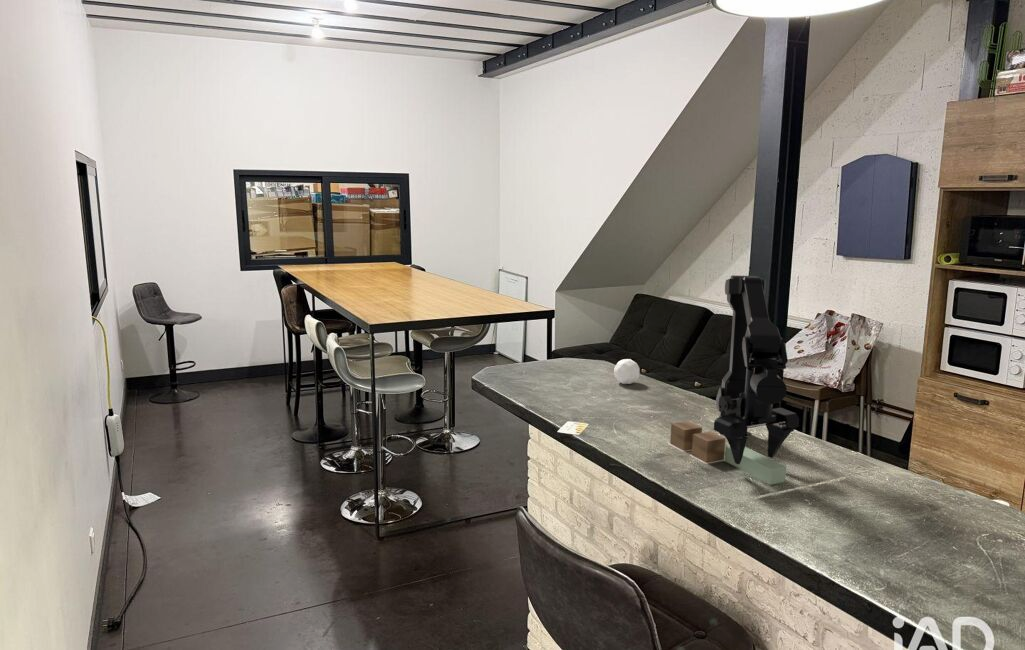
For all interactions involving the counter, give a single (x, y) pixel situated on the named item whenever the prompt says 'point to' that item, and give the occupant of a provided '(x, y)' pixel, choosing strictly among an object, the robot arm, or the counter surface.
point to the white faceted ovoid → (626, 371)
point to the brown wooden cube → (683, 434)
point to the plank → (758, 466)
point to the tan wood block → (708, 446)
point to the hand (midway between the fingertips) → (754, 460)
